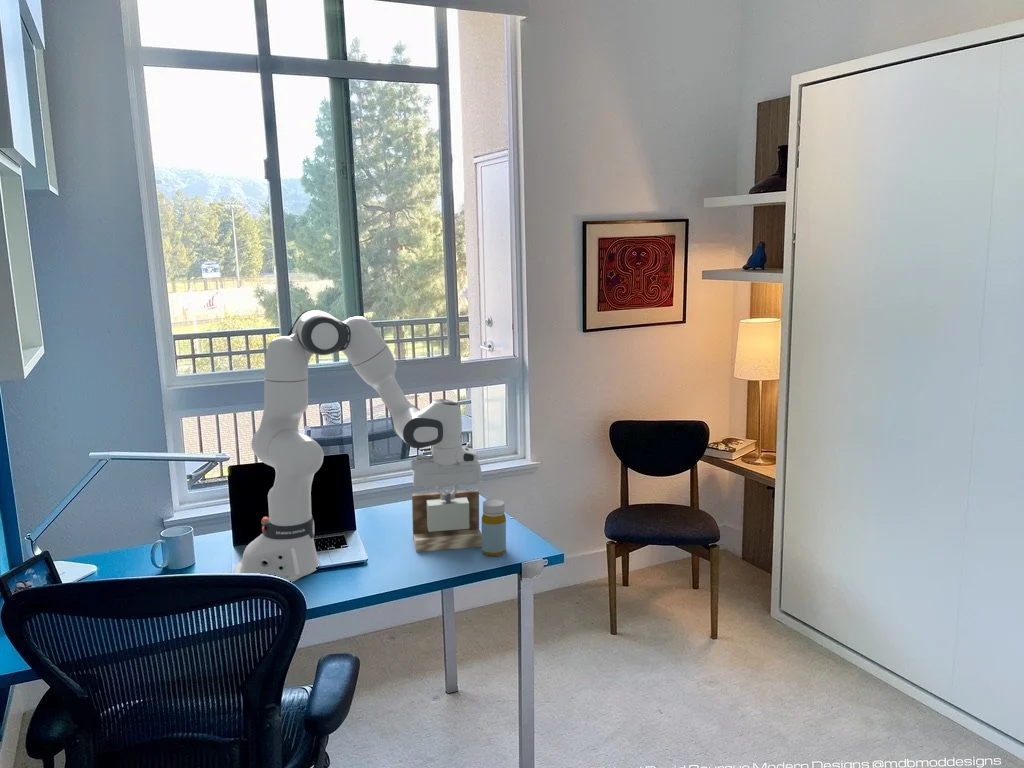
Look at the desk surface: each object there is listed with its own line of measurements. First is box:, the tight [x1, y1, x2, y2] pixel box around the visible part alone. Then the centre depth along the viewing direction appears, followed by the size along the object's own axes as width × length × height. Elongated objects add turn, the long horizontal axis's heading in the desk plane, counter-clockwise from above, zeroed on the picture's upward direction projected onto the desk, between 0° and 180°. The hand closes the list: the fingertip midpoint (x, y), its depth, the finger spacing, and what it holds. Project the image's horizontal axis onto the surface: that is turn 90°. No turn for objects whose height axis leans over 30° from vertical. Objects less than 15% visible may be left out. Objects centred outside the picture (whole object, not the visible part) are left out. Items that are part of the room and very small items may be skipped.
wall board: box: [411, 488, 482, 553], centre depth 225 cm, size 20×10×14 cm, turn 102°
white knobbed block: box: [426, 489, 469, 532], centre depth 224 cm, size 12×5×11 cm, turn 102°
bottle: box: [481, 498, 507, 557], centre depth 218 cm, size 7×7×15 cm
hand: (447, 499), depth 223 cm, fingers closed on white knobbed block
